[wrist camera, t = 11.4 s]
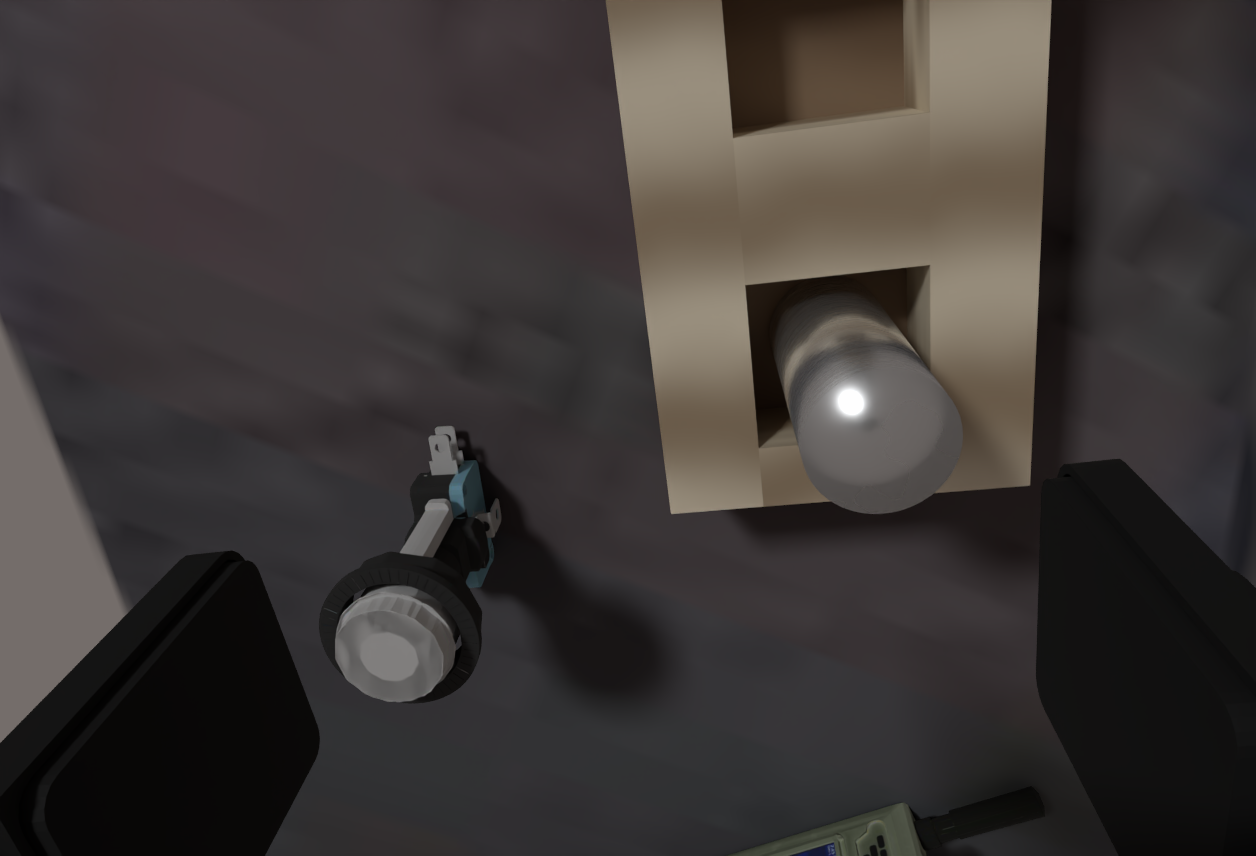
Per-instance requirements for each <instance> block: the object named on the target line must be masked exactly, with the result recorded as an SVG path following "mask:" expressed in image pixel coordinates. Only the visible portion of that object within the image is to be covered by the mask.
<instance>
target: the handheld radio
mask: <svg viewBox="0 0 1256 856" xmlns="http://www.w3.org/2000/svg"><path fill="white" fill-rule="evenodd" d="M949 813H950V814H947V815H943V816H940V817H937V818H933V819H932V818H931V817H927V818H924V819H920V820H917V821H915V818H914V816H913V814H912V812H911V810H910V808H909V806H908V805H907V804H905V803H899V804H894V805H891V806H888V807H885V808H881V809H878V810H875V811H871V812H868V813H865V814H862V815H858V816H855V817H852V818H848V819H845V820H842V821H839V822H835V823H832V824H829V825H825V826H822V827H819V828H816V829H812V830H809V831H806V832H802V833H799V834H796V835H793V836H789V837H786V838H783V839H779V840H776V841H773V842H770V843H766V844H763V845H760V846H756V847H753V848H750V849H746V850H743V851H740V852H737V853H733V854H730V855H727V856H927V855H926V850H929V849H933V848H936V847H940V846H942V843H944V842H947V841H950V840H954V839H957V838H960V839H964V838H967V837H971V836H974V835H978V834H982V833H985V832H989V831H993V830H996V829H1000V828H1003V827H1007V826H1011V825H1014V824H1018V823H1022V822H1025V821H1029V820H1033V819H1036V818H1040V817H1043V816H1045V811H1044V805H1043V803H1042V800H1041V798H1040V796H1039V794H1038V793H1037V792H1036V791H1035V790H1034V788H1033V787H1032V786H1031V787H1027V788H1024V789H1021V790H1017V791H1014V792H1011V793H1007V794H1004V795H1001V796H997V797H994V798H991V799H987V800H984V801H981V802H977V803H974V804H971V805H967V806H964V807H961V808H957V809H954V810H950V811H949Z"/></svg>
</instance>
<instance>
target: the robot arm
mask: <svg viewBox="0 0 1256 856" xmlns="http://www.w3.org/2000/svg"><path fill="white" fill-rule="evenodd" d="M1036 680H1037V687H1038V692H1039V696H1040V699H1041V702H1042V705H1043V707H1044V710H1045V712H1046V714H1047V716H1048V717H1049V719H1050V721H1051V723H1052V725H1053V727H1054V729H1055V731H1056V733H1057V735H1058V737H1059V739H1060V741H1061V743H1062V745H1063V747H1064V749H1065V751H1066V753H1067V755H1068V757H1069V759H1070V761H1071V763H1072V765H1073V767H1074V769H1075V771H1076V772H1077V774H1078V776H1079V778H1080V780H1081V782H1082V784H1083V786H1084V788H1085V790H1086V792H1087V794H1088V796H1089V798H1090V800H1091V802H1092V804H1093V806H1094V808H1095V810H1096V812H1097V814H1098V816H1099V818H1100V820H1101V822H1102V824H1103V826H1104V827H1105V829H1106V831H1107V833H1108V835H1109V837H1110V839H1111V841H1112V843H1113V845H1114V847H1115V849H1116V851H1117V853H1118V855H1119V856H1256V588H1255V587H1254V586H1253V585H1252V584H1251V583H1250V582H1249V581H1248V580H1247V579H1246V578H1245V577H1243V576H1242V575H1240V574H1239V573H1238V572H1236V571H1233V570H1231V569H1230V568H1229V567H1228V566H1227V565H1226V564H1225V563H1224V562H1223V561H1222V560H1221V559H1220V558H1219V557H1218V556H1217V555H1216V554H1215V553H1214V552H1213V551H1212V550H1211V549H1210V548H1209V547H1208V546H1207V545H1206V544H1205V543H1204V542H1203V541H1202V540H1201V539H1200V538H1199V537H1198V536H1197V535H1196V534H1195V533H1194V532H1193V531H1192V530H1191V529H1190V528H1189V527H1188V526H1187V525H1186V524H1185V523H1184V522H1183V521H1182V520H1181V519H1180V518H1179V517H1178V516H1177V515H1176V514H1175V513H1174V512H1173V511H1172V510H1171V508H1170V507H1169V506H1168V505H1167V504H1166V503H1165V502H1164V501H1163V500H1162V499H1161V498H1160V497H1159V496H1158V495H1157V494H1156V493H1155V492H1154V491H1153V490H1152V489H1151V488H1150V487H1149V486H1148V485H1147V484H1146V483H1145V482H1144V481H1143V480H1142V479H1141V478H1140V477H1139V476H1138V475H1137V474H1136V473H1135V472H1134V471H1133V470H1132V469H1131V468H1130V467H1129V466H1128V465H1127V464H1126V463H1125V462H1124V461H1122V460H1121V459H1111V460H1102V461H1092V462H1083V463H1073V464H1064V465H1063V466H1062V467H1061V468H1060V471H1059V474H1058V478H1054V479H1046V480H1045V481H1044V483H1043V486H1042V493H1041V523H1040V556H1039V590H1038V623H1037V657H1036ZM319 742H320V736H319V729H318V726H317V723H316V720H315V718H314V715H313V712H312V710H311V707H310V704H309V702H308V699H307V697H306V694H305V691H304V689H303V686H302V683H301V681H300V678H299V675H298V673H297V670H296V668H295V665H294V662H293V660H292V657H291V654H290V652H289V649H288V647H287V644H286V641H285V639H284V636H283V633H282V631H281V628H280V625H279V623H278V620H277V618H276V615H275V612H274V610H273V607H272V604H271V602H270V599H269V597H268V594H267V591H266V589H265V586H264V583H263V581H262V578H261V575H260V573H259V571H258V569H257V567H256V566H255V565H254V564H253V563H252V562H250V561H245V560H244V558H243V557H242V556H241V555H240V554H239V553H237V552H235V551H224V552H214V553H204V554H195V555H187V556H185V557H184V558H182V559H181V560H180V561H179V562H178V563H177V564H176V565H175V566H174V567H173V568H172V569H171V570H170V571H169V572H168V573H167V574H166V575H165V576H164V577H163V578H162V579H161V580H160V581H159V582H158V583H157V584H156V585H155V586H154V587H153V588H152V589H151V590H150V591H149V592H148V593H147V594H146V595H145V596H144V597H143V598H142V599H141V600H140V601H139V602H138V603H137V604H136V605H135V606H134V607H133V608H132V609H131V610H130V612H129V613H128V614H127V615H126V616H125V617H124V618H123V619H122V620H121V621H120V622H119V623H118V624H117V625H116V626H115V627H114V628H113V629H112V630H111V631H110V632H109V633H108V634H107V635H106V636H105V637H104V638H103V639H102V640H101V641H100V642H99V643H98V644H97V645H96V646H95V647H94V648H93V649H92V650H91V651H90V652H89V653H88V654H87V655H86V656H85V657H84V658H83V659H82V660H81V661H80V662H79V663H78V665H76V666H75V668H74V669H73V670H72V671H71V672H70V673H69V674H68V675H67V676H66V677H65V678H64V679H63V680H62V681H61V682H60V683H59V684H58V685H57V686H56V687H55V688H54V689H53V690H52V691H51V692H50V693H49V694H48V695H47V696H46V697H45V698H44V699H43V700H42V701H41V702H40V703H39V704H38V705H37V706H36V707H35V708H34V709H33V710H32V711H31V712H30V713H29V715H27V716H26V718H25V719H24V720H22V721H21V723H19V725H18V726H17V727H16V728H15V729H14V730H13V731H12V732H11V733H10V734H9V735H8V736H7V737H6V738H5V739H4V740H3V741H2V742H1V743H0V856H265V854H266V853H267V851H268V849H269V847H270V845H271V843H272V841H273V839H274V837H275V835H276V834H277V832H278V830H279V828H280V826H281V824H282V822H283V820H284V818H285V817H286V815H287V813H288V811H289V809H290V807H291V805H292V803H293V801H294V799H295V798H296V796H297V794H298V792H299V790H300V788H301V786H302V784H303V782H304V780H305V779H306V777H307V775H308V773H309V771H310V769H311V767H312V765H313V763H314V761H315V759H316V757H317V754H318V750H319Z"/></svg>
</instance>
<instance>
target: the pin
mask: <svg viewBox="0 0 1256 856" xmlns="http://www.w3.org/2000/svg"><path fill="white" fill-rule="evenodd" d="M769 337H770V344H771V347H772V351H773V355H774V359H775V362H776V366H777V370H778V373H779V377H780V381H781V384H782V388H783V392H784V395H785V399H786V403H787V407H788V410H789V414H790V418H791V421H792V425H793V429H794V432H795V436H796V440H797V443H798V447H799V451H800V454H801V458H802V462H803V465H804V468H805V471H806V473H807V475H808V477H809V479H810V481H811V482H812V484H813V485H814V486H815V488H816V489H817V490H818V491H819V492H820V493H821V494H822V495H823V496H824V497H826V498H827V499H828V500H830V501H831V502H833V503H834V504H836V505H838V506H840V507H843V508H845V509H848V510H851V511H854V512H859V513H866V514H885V513H892V512H897V511H900V510H904V509H907V508H909V507H912V506H914V505H916V504H918V503H920V502H922V501H924V500H925V499H927V498H928V497H930V496H931V495H932V494H933V493H935V492H936V491H937V490H938V489H939V488H940V487H941V486H942V485H943V484H944V483H945V482H946V480H947V479H948V478H949V476H950V475H951V474H952V472H953V470H954V468H955V466H956V464H957V462H958V459H959V457H960V453H961V449H962V442H963V429H962V423H961V418H960V415H959V413H958V410H957V408H956V406H955V404H954V403H953V401H952V399H951V398H950V397H949V395H948V394H947V393H946V391H945V390H944V389H943V387H942V386H941V385H940V383H939V382H938V381H937V379H936V378H935V377H934V375H933V374H932V373H931V371H930V370H929V369H928V367H927V366H926V365H925V363H924V362H923V361H922V359H921V358H920V357H919V355H918V354H917V353H916V351H915V350H914V349H913V347H912V346H911V345H910V343H909V342H908V341H907V339H906V338H905V337H904V335H903V334H902V333H901V331H900V330H899V329H898V327H897V326H896V325H895V324H894V322H893V321H892V320H891V318H890V317H889V316H888V314H887V313H886V312H885V310H884V309H883V308H882V306H881V305H880V304H879V302H878V301H877V300H876V298H875V297H874V296H873V294H872V293H871V292H870V291H869V290H868V289H867V288H866V287H865V286H863V285H862V284H860V283H859V282H857V281H855V280H853V279H850V278H848V277H844V276H839V275H834V276H825V277H816V278H809V279H807V280H804V281H802V282H800V283H799V284H797V285H795V286H794V287H793V288H791V289H790V290H789V291H788V292H787V293H786V294H785V295H784V296H783V297H782V298H781V300H780V301H779V302H778V304H777V306H776V308H775V310H774V312H773V315H772V318H771V321H770V328H769Z"/></svg>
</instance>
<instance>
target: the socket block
mask: <svg viewBox="0 0 1256 856" xmlns="http://www.w3.org/2000/svg"><path fill="white" fill-rule="evenodd" d="M1051 1H1052V0H606V6H607V13H608V21H609V29H610V37H611V45H612V53H613V61H614V68H615V76H616V84H617V92H618V100H619V108H620V116H621V123H622V131H623V139H624V147H625V155H626V163H627V171H628V179H629V186H630V194H631V202H632V210H633V218H634V226H635V234H636V241H637V249H638V257H639V265H640V273H641V281H642V289H643V296H644V304H645V312H646V320H647V328H648V336H649V344H650V352H651V359H652V367H653V375H654V383H655V391H656V399H657V407H658V414H659V422H660V430H661V438H662V446H663V454H664V462H665V469H666V477H667V485H668V493H669V501H670V509H671V514H677V513H689V512H702V511H715V510H727V509H740V508H753V507H765V506H778V505H791V504H803V503H816V502H829V501H830V500H828V499H827V498H826V497H824V496H823V495H822V494H821V493H820V492H819V491H818V490H817V489H816V488H815V486H814V485H813V484H812V482H811V481H810V479H809V477H808V475H807V473H806V471H805V468H804V465H803V462H802V458H801V454H800V451H799V447H798V443H797V440H796V436H795V432H794V429H793V425H792V421H791V418H790V414H789V410H788V407H787V403H786V399H785V395H784V392H783V388H782V384H781V381H780V377H779V373H778V370H777V366H776V362H775V359H774V355H773V351H772V347H771V344H770V337H769V328H770V321H771V318H772V315H773V312H774V310H775V308H776V306H777V304H778V302H779V301H780V300H781V298H782V297H783V296H784V295H785V294H786V293H787V292H788V291H789V290H790V289H791V288H793V287H794V286H795V285H797V284H799V283H800V282H802V281H804V280H807V279H809V278H816V277H825V276H834V275H839V276H844V277H848V278H850V279H853V280H855V281H857V282H859V283H860V284H862V285H863V286H865V287H866V288H867V289H868V290H869V291H870V292H871V293H872V294H873V296H874V297H875V298H876V300H877V301H878V302H879V304H880V305H881V306H882V308H883V309H884V310H885V312H886V313H887V314H888V316H889V317H890V318H891V320H892V321H893V322H894V324H895V325H896V326H897V327H898V329H899V330H900V331H901V333H902V334H903V335H904V337H905V338H906V339H907V341H908V342H909V343H910V345H911V346H912V347H913V349H914V350H915V351H916V353H917V354H918V355H919V357H920V358H921V359H922V361H923V362H924V363H925V365H926V366H927V367H928V369H929V370H930V371H931V373H932V374H933V375H934V377H935V378H936V379H937V381H938V382H939V383H940V385H941V386H942V387H943V389H944V390H945V391H946V393H947V394H948V395H949V397H950V398H951V399H952V401H953V403H954V404H955V406H956V408H957V410H958V413H959V415H960V418H961V423H962V429H963V442H962V449H961V453H960V457H959V459H958V462H957V464H956V466H955V468H954V470H953V472H952V474H951V475H950V476H949V478H948V479H947V480H946V482H945V483H944V484H943V485H942V486H941V487H940V488H939V489H938V490H937V491H936V492H935V493H943V492H956V491H968V490H981V489H994V488H1006V487H1019V486H1030V476H1031V453H1032V431H1033V408H1034V385H1035V363H1036V340H1037V318H1038V295H1039V272H1040V250H1041V227H1042V205H1043V182H1044V159H1045V137H1046V114H1047V91H1048V69H1049V46H1050V24H1051Z"/></svg>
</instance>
